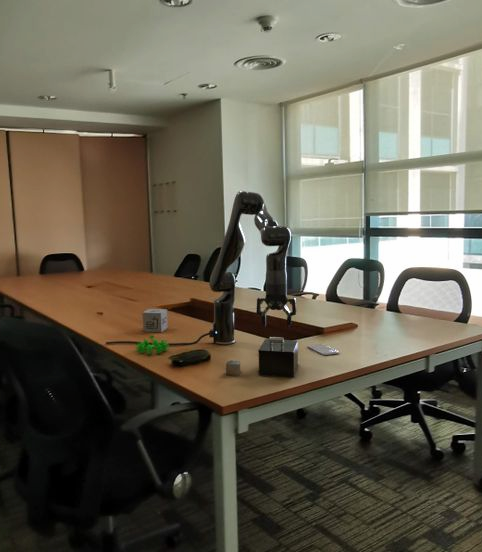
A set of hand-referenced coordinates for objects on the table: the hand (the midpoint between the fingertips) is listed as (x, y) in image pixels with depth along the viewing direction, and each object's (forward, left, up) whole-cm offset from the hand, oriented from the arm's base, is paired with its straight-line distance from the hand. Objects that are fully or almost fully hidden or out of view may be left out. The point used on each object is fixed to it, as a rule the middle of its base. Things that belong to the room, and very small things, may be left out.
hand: (276, 326), depth 179 cm
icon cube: (-72, +62, -19) cm, 97 cm away
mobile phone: (+15, +38, -18) cm, 44 cm away
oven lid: (0, +6, -10) cm, 11 cm away
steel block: (-16, -1, -18) cm, 24 cm away
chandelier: (-58, +22, -19) cm, 65 cm away
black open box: (0, +7, -18) cm, 20 cm away
